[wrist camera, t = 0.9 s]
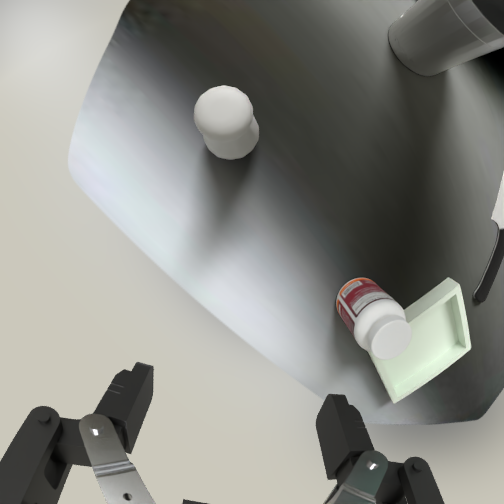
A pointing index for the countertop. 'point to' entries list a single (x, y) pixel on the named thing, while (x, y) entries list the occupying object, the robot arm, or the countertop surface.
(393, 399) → the collection tray
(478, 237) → the countertop surface
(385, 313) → the pill bottle
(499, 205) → the kitchen cleaver
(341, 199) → the countertop surface
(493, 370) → the countertop surface
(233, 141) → the salt shaker
